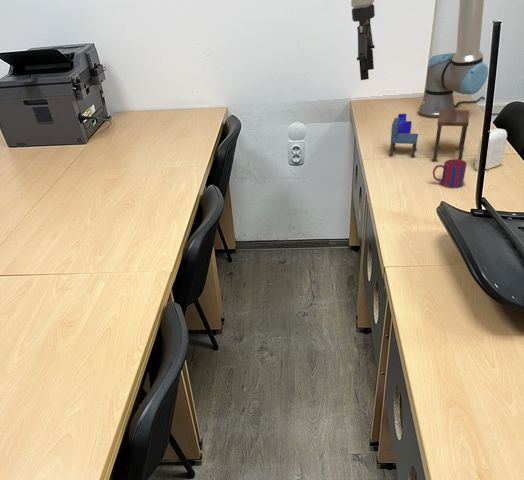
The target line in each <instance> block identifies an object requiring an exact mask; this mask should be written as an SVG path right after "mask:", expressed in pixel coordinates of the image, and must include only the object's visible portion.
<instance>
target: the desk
mask: <svg viewBox="0 0 524 480" xmlns="http://www.w3.org/2000/svg"><path fill="white" fill-rule="evenodd" d="M469 123H470V109H469V110H468V109H455V110H440V113H439V117H438V118H437V125H436V126H437V130H436V135H435V143H434V151H433V157H432V162H437V161H438V153H439V147H440V142H441V141H440V139H441V134H442V127H461V131H460V139H459V144H458V155H457V159H458V160H463V154H464V148H465V142H466V137H467V132H468V131H467V130H468V127H469Z"/></svg>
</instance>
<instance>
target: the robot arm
mask: <svg viewBox="0 0 524 480" xmlns="http://www.w3.org/2000/svg"><path fill="white" fill-rule="evenodd" d="M374 2H375V0H350V5H351V7H352V8H351V18H352V19H351V20H352V22H358V25H357V27H356V29H357V57H356V61H358V63H359V75H360V81H366V80H369V79H370V77H369V76H370V75H369V71H371V70H375V66H374V65H375V64H374V51H373V49H375V47H376V46H375V44H374V40H373V33H372V26H371V25H372V23H371V19H373V18H375V16H376V14H375V12H376V11H375V5H374ZM458 4H459V5H458V20H457V35H456V50H455V51H456V52H452V53H442V54H436V55H432V56H431V57H430V58H429V60H428V66H427V73H426V82H425V91H424V95H423V98H422V101H421V104H420V105H419V107H418V114H419V115H421V116H423V117H427V118H434V119H435V118H436V119H438V118H439V113H440V110H456V108H457V107H459V105H460V104H475V103H477V102H479V101H481V100H485V99H486V98H485V96H480V97H479V98H478V99H475V100H464V101H463V100H461V101H458V102H457V103H456V106H455V101H454V93H459V94H461V95H468V96H470V95H471V96H472V95H475V94H476V93H478V92H479V91H480V90H481V89H482V87H483V86H484V85H485V83H486V81H487V79H488V75H489V67H488V66H487V65H486V63H484V62H483V60H484V54H483V52H482V51H480V49H481V37H482V28H483V27H482V26H483V15H484V5H485V0H459V2H458Z"/></svg>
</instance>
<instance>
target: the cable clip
mask: <svg viewBox="0 0 524 480" xmlns="http://www.w3.org/2000/svg"><path fill="white" fill-rule="evenodd" d="M397 118H399V125H398V133H410V134H411V132H412V120H407V113H398V114H397Z"/></svg>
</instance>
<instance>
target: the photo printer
mask: <svg viewBox="0 0 524 480" xmlns="http://www.w3.org/2000/svg"><path fill="white" fill-rule="evenodd" d="M489 131H490V137H489V144H488V152H487V162H486V170H485V171H487V170H489V169H493V168H495V167H498V166H500V165H501V164H502V160H503V156H504V151H505V147H506V143H507V138H508V132H507V131H506V129H504V128H494V129H491V130H489ZM481 140H482V136H481V137H480V139H479V144H478V148H477V154H476V159H475V164H474V169H475V170H477V171H479V170H478V165H479V157H480V149H481Z"/></svg>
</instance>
